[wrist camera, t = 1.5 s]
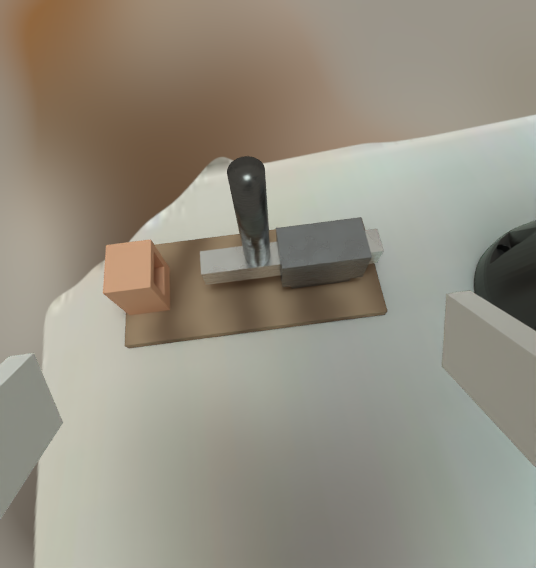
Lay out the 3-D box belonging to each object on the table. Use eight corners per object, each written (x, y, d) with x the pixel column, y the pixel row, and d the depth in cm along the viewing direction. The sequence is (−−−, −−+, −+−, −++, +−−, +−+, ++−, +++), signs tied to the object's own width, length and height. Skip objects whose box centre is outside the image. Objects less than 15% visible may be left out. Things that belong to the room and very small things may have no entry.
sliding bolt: (371, 241, 36) (419, 134, 23) (377, 262, 35) (430, 163, 22) (204, 263, 36) (162, 166, 23) (206, 284, 35) (162, 196, 22)
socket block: (169, 267, 38) (150, 239, 33) (170, 310, 36) (150, 287, 31) (131, 272, 38) (106, 245, 33) (129, 315, 36) (103, 293, 31)
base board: (360, 223, 41) (361, 218, 40) (384, 314, 36) (387, 311, 35) (132, 252, 40) (128, 248, 39) (128, 348, 36) (124, 345, 35)
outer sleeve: (350, 247, 38) (361, 217, 33) (359, 282, 37) (372, 256, 31) (276, 256, 38) (275, 228, 33) (282, 292, 36) (282, 268, 31)
